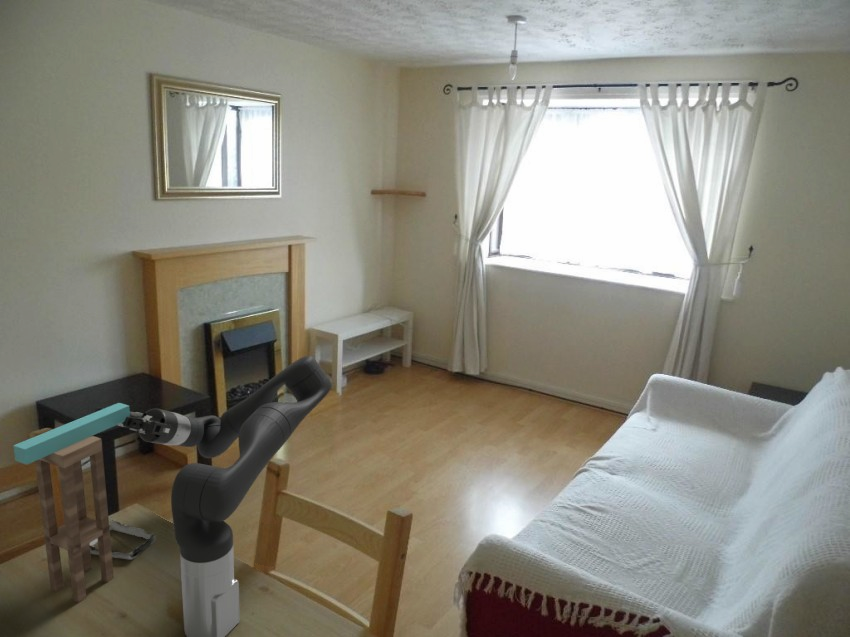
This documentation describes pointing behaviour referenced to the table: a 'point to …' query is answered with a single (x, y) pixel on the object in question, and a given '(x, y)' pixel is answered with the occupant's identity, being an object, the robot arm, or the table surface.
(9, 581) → the table surface
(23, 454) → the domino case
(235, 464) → the robot arm
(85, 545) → the walnut stand
